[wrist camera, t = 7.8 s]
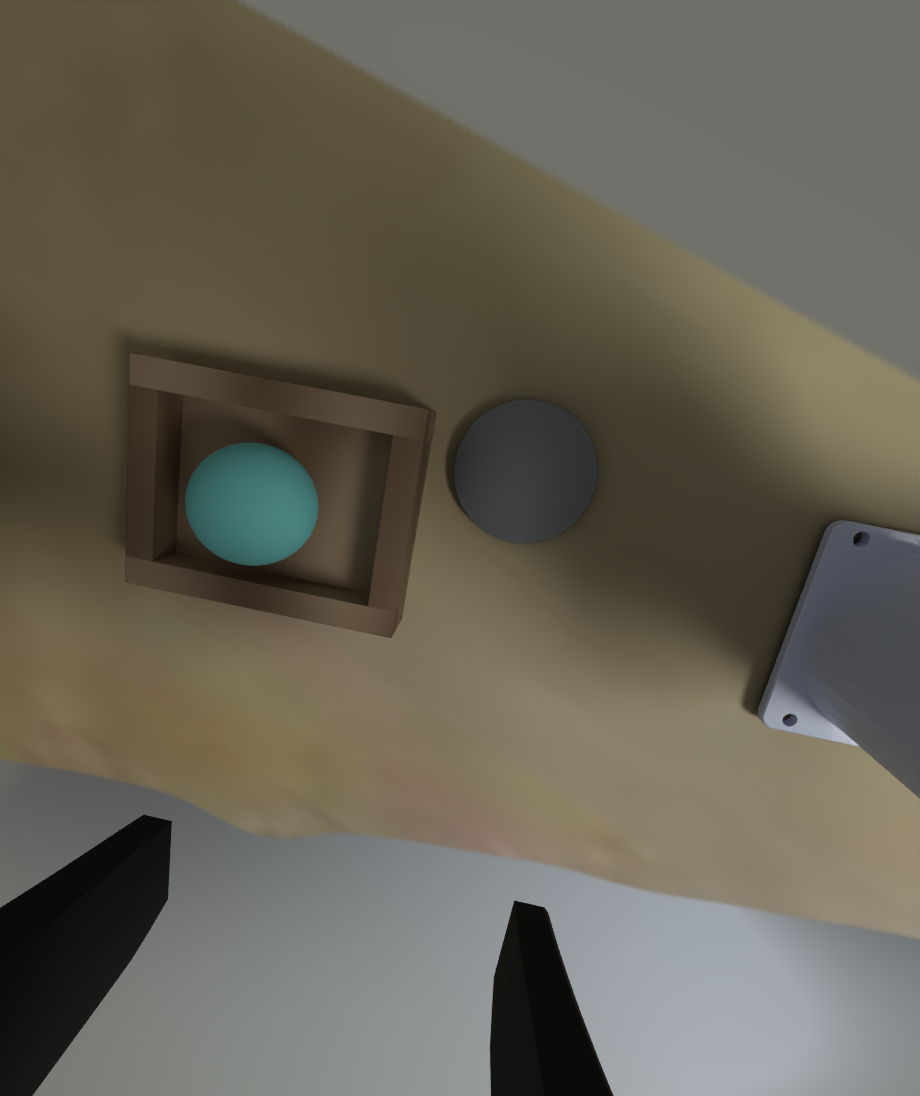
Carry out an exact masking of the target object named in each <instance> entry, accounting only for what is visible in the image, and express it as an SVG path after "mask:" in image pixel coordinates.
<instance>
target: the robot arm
mask: <svg viewBox="0 0 920 1096" xmlns="http://www.w3.org/2000/svg"><path fill="white" fill-rule="evenodd" d="M859 532H860V533H861V539H860V541H859V542H858V543H856V544H854V543H853V537H854V536H855V535H856V534H857V533H859ZM757 714H758V717H759V719H760V720H761V721H762V722H763V723H764V724H765V725H766V726H767V727H770V728H773V729H778V730H782V731H787V732H792V733H796V734H801V735H806V736H811V737H815V738H820V739H825V740H830V741H834V742H839V743H844V744H848V745H853V746H858V747H861V748H862V749H863V750H864V751H866V752H867V753H868V754H869V755H870V756H871V757H873V758H874V759H875V760H876V761H877V762H878V763H879V764H881V765H882V766H883V767H884V768H885V769H886V770H888V771H889V772H890V773H891V774H892V775H893V776H894V777H896V778H897V779H898V780H899V781H900V782H901V783H902V784H904V785H905V786H906V787H907V788H908V789H909V790H911V791H912V792H913V793H914V794H915V795H916V796H917V797H919V798H920V535H919V534H914V533H908V532H903V531H898V530H893V529H888V528H882V527H877V526H872V525H867V524H862V523H856V522H851V521H846V520H838V521H835V522H833V523H831V524H830V525H829V526H828V527H827V529H826V530H825V532H824V535H823V537H822V540H821V543H820V545H819V548H818V551H817V553H816V556H815V559H814V561H813V564H812V567H811V569H810V572H809V575H808V577H807V580H806V583H805V585H804V588H803V591H802V593H801V596H800V599H799V601H798V604H797V607H796V609H795V612H794V615H793V617H792V620H791V623H790V625H789V628H788V631H787V633H786V636H785V639H784V641H783V644H782V647H781V649H780V652H779V655H778V657H777V660H776V663H775V665H774V668H773V671H772V673H771V676H770V679H769V681H768V684H767V687H766V689H765V692H764V695H763V697H762V700H761V703H760V705H759V708H758V713H757ZM787 714H791V716H790V718H789V719H787V720H783V717H784V716H785V715H787ZM171 825H172V821H168V820H164V819H160V818H155V817H151V816H147V815H143V816H141V817H139V818H138V819H136V820H135V821H133V822H132V823H130V824H129V825H127V826H126V827H124V828H123V829H121V830H119V831H118V832H116V833H115V834H114V835H112V836H110V837H109V838H107V839H106V840H104V841H103V842H101V843H100V844H99V845H97V846H95V847H94V848H92V849H91V850H89V851H88V852H86V853H85V854H83V855H82V856H80V857H79V858H77V859H76V860H74V861H72V862H71V863H69V864H68V865H67V866H65V867H63V868H62V869H60V870H59V871H57V872H56V873H54V874H53V875H51V876H49V877H48V878H46V879H45V880H43V881H42V882H40V883H39V884H37V885H35V886H34V887H32V888H31V889H29V890H28V891H26V892H24V893H23V894H21V895H20V896H18V897H17V898H15V899H13V900H12V901H10V902H9V903H7V904H6V905H4V906H2V907H1V908H0V1096H32V1095H33V1094H34V1093H35V1091H36V1090H37V1088H38V1087H39V1086H40V1084H41V1083H42V1082H43V1080H44V1079H45V1078H46V1076H47V1075H48V1073H49V1072H50V1071H51V1069H52V1068H53V1067H54V1065H55V1064H56V1063H57V1061H58V1060H59V1058H60V1057H61V1056H62V1054H63V1053H64V1052H65V1050H66V1049H67V1047H68V1046H69V1045H70V1044H71V1042H72V1041H73V1039H74V1038H75V1037H76V1035H77V1034H78V1033H79V1031H80V1030H81V1029H82V1027H83V1026H84V1024H85V1023H86V1022H87V1020H88V1019H89V1018H90V1016H91V1015H92V1014H93V1012H94V1011H95V1009H96V1008H97V1007H98V1005H99V1004H100V1002H101V1001H102V1000H103V998H104V997H105V996H106V994H107V993H108V991H109V990H110V989H111V987H112V986H113V984H114V983H115V982H116V980H117V979H118V978H119V976H120V975H121V974H122V972H123V971H124V969H125V968H126V967H127V965H128V964H129V962H130V961H131V960H132V958H133V956H134V955H135V953H136V951H137V950H138V948H139V947H140V945H141V943H142V942H143V940H144V938H145V937H146V935H147V933H148V932H149V930H150V929H151V927H152V925H153V923H154V922H155V920H156V918H157V917H158V915H159V913H160V912H161V910H162V908H163V906H164V905H165V903H166V901H167V900H168V886H169V866H170V865H169V864H170V846H171ZM491 1020H492V1021H491V1039H490V1065H491V1066H490V1068H491V1096H613V1093H612V1091H611V1089H610V1086H609V1084H608V1081H607V1079H606V1077H605V1074H604V1072H603V1069H602V1067H601V1064H600V1062H599V1059H598V1057H597V1054H596V1051H595V1049H594V1047H593V1044H592V1041H591V1038H590V1036H589V1033H588V1031H587V1028H586V1026H585V1023H584V1020H583V1017H582V1015H581V1012H580V1010H579V1007H578V1004H577V1001H576V999H575V996H574V993H573V990H572V987H571V984H570V981H569V978H568V975H567V972H566V970H565V966H564V964H563V960H562V957H561V955H560V951H559V948H558V945H557V941H556V938H555V935H554V931H553V928H552V925H551V921H550V917H549V914H548V912H547V911H546V909H545V908H544V907H540V906H536V905H531V904H527V903H523V902H518V901H514V904H513V908H512V911H511V915H510V919H509V923H508V926H507V930H506V934H505V938H504V941H503V945H502V949H501V952H500V956H499V960H498V964H497V967H496V972H495V975H494V985H493V1002H492V1019H491Z"/></svg>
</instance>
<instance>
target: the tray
mask: <svg viewBox="0 0 920 1096" xmlns="http://www.w3.org/2000/svg"><path fill="white" fill-rule="evenodd" d="M435 416H436V412H434V411H432V410H429V409H424V408H419V407H414V406H409V405H403V404H398V403H393V402H387V401H382V400H377V399H372V398H366V397H361V396H356V395H350V394H345V393H340V392H335V391H329V390H324V389H319V388H314V387H308V386H303V385H298V384H292V383H287V382H282V381H277V380H271V379H266V378H261V377H256V376H250V375H245V374H240V373H234V372H229V371H224V370H219V369H213V368H208V367H203V366H198V365H192V364H187V363H182V362H176V361H171V360H166V359H161V358H155V357H150V356H145V355H140V354H134V353H130V364H129V416H128V468H127V520H126V572H125V582H127V583H132V584H137V585H141V586H146V587H151V588H156V589H160V590H165V591H170V592H175V593H179V594H184V595H189V596H194V597H198V598H203V599H208V600H213V601H217V602H222V603H227V604H232V605H236V606H241V607H246V608H251V609H255V610H260V611H265V612H270V613H274V614H279V615H284V616H289V617H293V618H298V619H303V620H308V621H312V622H317V623H322V624H327V625H331V626H336V627H341V628H346V629H350V630H355V631H360V632H365V633H369V634H374V635H379V636H384V637H388V638H392V636H393V634H394V632H395V630H396V629H397V627H398V625H399V623H400V621H401V619H402V613H403V607H404V601H405V595H406V589H407V583H408V577H409V571H410V565H411V559H412V553H413V547H414V541H415V535H416V529H417V523H418V517H419V511H420V506H421V500H422V494H423V488H424V482H425V476H426V470H427V464H428V458H429V452H430V446H431V440H432V434H433V428H434V422H435ZM238 443H261V444H266V445H270V446H273V447H276V448H278V449H281V450H283V451H285V452H286V453H288V454H289V455H291V456H292V457H294V458H295V459H296V460H297V461H298V462H299V463H300V464H301V465H302V466H303V467H304V468H305V469H306V471H307V472H308V474H309V475H310V477H311V479H312V481H313V483H314V485H315V488H316V491H317V496H318V505H319V507H318V517H317V521H316V525H315V527H314V529H313V531H312V533H311V535H310V537H309V538H308V540H307V541H306V542H305V543H304V545H303V546H302V547H301V548H300V549H299V550H297V551H296V552H295V553H294V554H292V555H290V556H289V557H287V558H285V559H283V560H281V561H278V562H275V563H271V564H267V565H258V566H250V565H242V564H236V563H233V562H230V561H227V560H225V559H223V558H221V557H219V556H217V555H216V554H214V553H213V552H211V551H210V550H209V549H207V548H206V547H205V546H204V545H203V544H202V543H201V542H200V541H199V539H198V538H197V537H196V535H195V534H194V532H193V530H192V528H191V526H190V524H189V521H188V518H187V514H186V508H185V495H186V490H187V486H188V483H189V480H190V478H191V476H192V474H193V472H194V471H195V469H196V468H197V467H198V466H199V464H200V463H201V462H202V461H203V460H204V459H205V458H206V457H208V456H209V455H211V454H212V453H214V452H215V451H217V450H219V449H221V448H224V447H226V446H229V445H232V444H238Z"/></svg>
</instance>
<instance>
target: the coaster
mask: <svg viewBox="0 0 920 1096" xmlns="http://www.w3.org/2000/svg"><path fill="white" fill-rule="evenodd" d="M597 471H598V467H597V457H596V453H595V449H594V446H593V443H592V441H591V439H590V437H589V435H588V433H587V431H586V430H585V429H584V427H583V426H582V425H581V423H580V422H579V421H578V420H577V419H576V418H575V417H574V416H572V415H571V414H570V413H568V412H567V411H566V410H564V409H562V408H560V407H559V406H556V405H554V404H551V403H548V402H544V401H540V400H532V399H525V400H515V401H510V402H507V403H503V404H501V405H499V406H496V407H494V408H492V409H491V410H489V411H487V412H486V413H484V414H483V415H482V416H481V417H479V418H478V419H477V420H476V421H475V422H474V423H473V424H472V425H471V427H470V428H469V429H468V431H467V432H466V434H465V435H464V437H463V439H462V441H461V443H460V445H459V448H458V450H457V454H456V458H455V465H454V482H455V488H456V492H457V495H458V498H459V500H460V503H461V505H462V507H463V509H464V510H465V512H466V513H467V515H468V516H469V517H470V519H471V520H472V521H473V522H474V523H475V524H476V525H477V526H478V527H480V528H481V529H482V530H484V531H485V532H487V533H488V534H490V535H492V536H494V537H496V538H499V539H501V540H505V541H508V542H514V543H534V542H540V541H544V540H547V539H550V538H552V537H555V536H557V535H558V534H560V533H562V532H564V531H565V530H566V529H568V528H569V527H571V526H572V525H573V524H574V523H575V522H576V521H577V520H578V519H579V518H580V516H581V515H582V514H583V513H584V511H585V510H586V508H587V507H588V505H589V503H590V501H591V499H592V496H593V493H594V490H595V487H596V482H597Z"/></svg>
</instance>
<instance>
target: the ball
mask: <svg viewBox="0 0 920 1096" xmlns="http://www.w3.org/2000/svg"><path fill="white" fill-rule="evenodd" d="M318 507H319V505H318V496H317V491H316V488H315V485H314V483H313V481H312V479H311V477H310V475H309V474H308V472H307V471H306V469H305V468H304V467H303V466H302V465H301V464H300V463H299V462H298V461H297V460H296V459H295V458H294V457H292V456H291V455H289V454H288V453H286V452H285V451H283V450H281V449H278V448H276V447H273V446H270V445H266V444H261V443H238V444H232V445H229V446H226V447H224V448H221V449H219V450H217V451H215V452H214V453H212V454H211V455H209V456H208V457H206V458H205V459H204V460H203V461H202V462H201V463H200V464H199V466H198V467H197V468H196V469H195V471H194V472H193V474H192V476H191V478H190V480H189V483H188V486H187V490H186V495H185V508H186V514H187V518H188V521H189V524H190V526H191V528H192V530H193V532H194V534H195V535H196V537H197V538H198V539H199V541H200V542H201V543H202V544H203V545H204V546H205V547H206V548H207V549H209V550H210V551H211V552H213V553H214V554H216V555H217V556H219V557H221V558H223V559H225V560H227V561H230V562H233V563H236V564H242V565H250V566H258V565H267V564H271V563H275V562H278V561H281V560H283V559H285V558H287V557H289V556H290V555H292V554H294V553H295V552H296V551H297V550H299V549H300V548H301V547H302V546H303V545H304V543H305V542H306V541H307V540H308V538H309V537H310V535H311V533H312V531H313V529H314V527H315V525H316V521H317V517H318Z"/></svg>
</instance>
